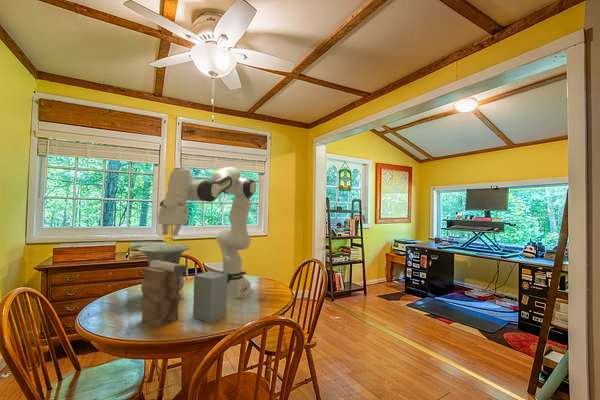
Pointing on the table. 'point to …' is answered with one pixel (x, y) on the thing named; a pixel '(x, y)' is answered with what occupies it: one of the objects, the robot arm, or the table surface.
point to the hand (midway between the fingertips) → (169, 235)
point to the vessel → (164, 256)
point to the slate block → (210, 296)
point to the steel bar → (168, 266)
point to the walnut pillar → (160, 296)
